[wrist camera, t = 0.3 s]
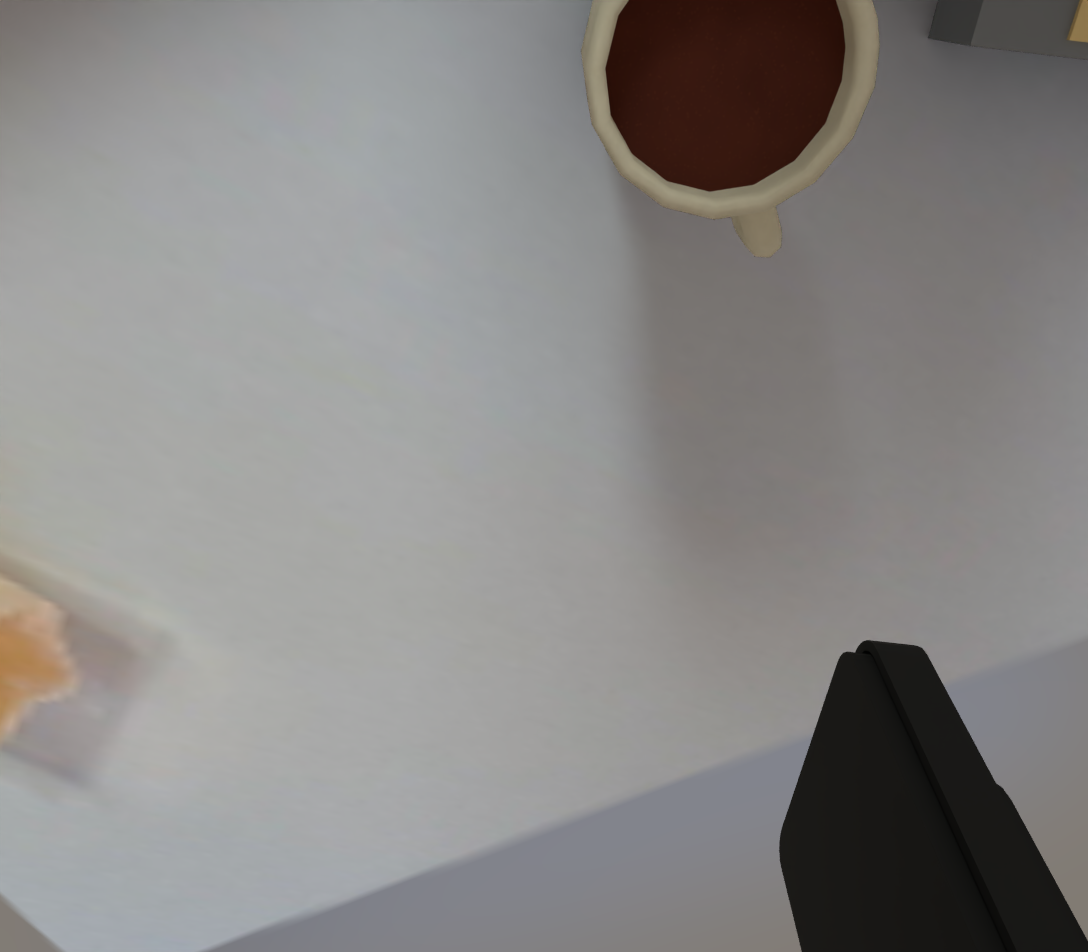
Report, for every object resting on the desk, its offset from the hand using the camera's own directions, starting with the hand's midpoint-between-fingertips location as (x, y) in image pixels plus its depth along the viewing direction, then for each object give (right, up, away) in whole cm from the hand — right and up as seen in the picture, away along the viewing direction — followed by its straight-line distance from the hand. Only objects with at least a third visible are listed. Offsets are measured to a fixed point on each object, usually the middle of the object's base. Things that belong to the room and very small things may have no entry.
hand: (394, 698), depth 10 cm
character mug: (+6, +18, +25) cm, 31 cm away
